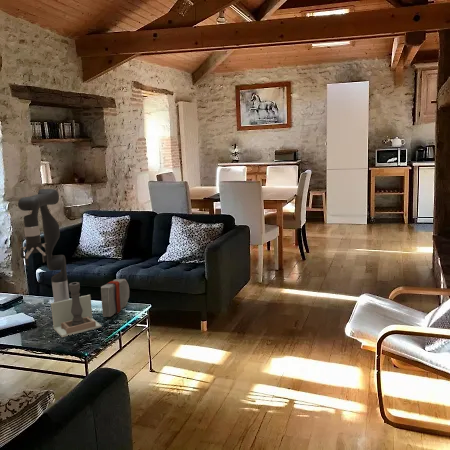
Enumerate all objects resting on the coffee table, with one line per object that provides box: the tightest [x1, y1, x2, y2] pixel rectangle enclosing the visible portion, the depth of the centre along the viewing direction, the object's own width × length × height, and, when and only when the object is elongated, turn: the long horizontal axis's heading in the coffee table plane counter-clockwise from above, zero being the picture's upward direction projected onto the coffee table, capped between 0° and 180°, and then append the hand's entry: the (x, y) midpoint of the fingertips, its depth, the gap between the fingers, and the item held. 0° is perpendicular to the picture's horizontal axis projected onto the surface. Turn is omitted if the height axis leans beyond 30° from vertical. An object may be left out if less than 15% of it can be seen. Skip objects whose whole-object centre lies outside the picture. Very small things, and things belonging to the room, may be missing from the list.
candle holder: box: [68, 281, 84, 326], centre depth 280 cm, size 6×6×25 cm
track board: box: [50, 294, 102, 338], centre depth 282 cm, size 15×22×15 cm
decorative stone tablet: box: [100, 278, 130, 318], centre depth 306 cm, size 19×6×30 cm
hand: (36, 263), depth 275 cm, fingers open, 8 cm apart
